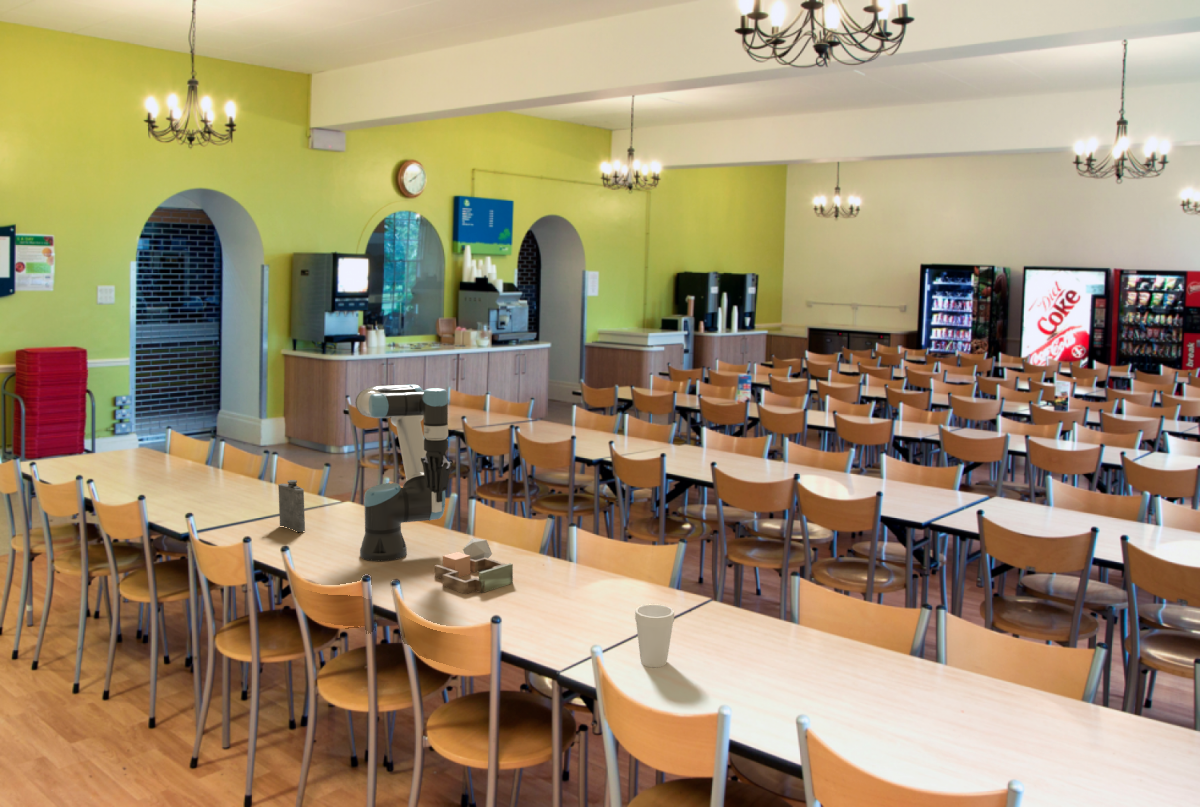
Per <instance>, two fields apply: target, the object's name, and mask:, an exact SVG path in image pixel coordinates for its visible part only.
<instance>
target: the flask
mask: <svg viewBox="0 0 1200 807" xmlns="http://www.w3.org/2000/svg"><path fill="white" fill-rule="evenodd" d="M297 483H298V480H296V479H289V480H287V483H279V484H278V506H279V508H278V509H279V510H278V511H279V513H278V514H279V527H280V526H284V527H287V528H290V529H293V530H295V531H297V532H303V531H305V532H306V521H305V519H306V518H305V494H304V492H305V489H304V488H302V487H301V486H297ZM287 528H286V529H287ZM290 529H289V530H290ZM293 530H292V531H293ZM295 531H294V532H295ZM297 532H296V533H297Z"/></svg>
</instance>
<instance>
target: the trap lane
mask: <svg viewBox="0 0 1200 807" xmlns="http://www.w3.org/2000/svg"><path fill="white" fill-rule="evenodd" d="M513 568H514V565H513V563H511V562H509V563H504V562H501V561H498V560H495V559H492V558H490V557H489V558H481V559H478V560H474V559H471V558H470V572H473V573H478V577H473V578H470V579H466V580H465V579H461V578H460V577H459V572H458V571H455V570H452V569H449V568H446V567H443V565H439V564H436V565H434V578H439V579H442V581H441V582H442V587H444V588H447V589H449V590H453V591H455V592H458V593H461V594H463V595H466V594H469V593H473V592H476V593H477V592H478V593H480V594H483V593H486V592H489V591H492V590H496V589H499V588H501V587H505V586H508V585H511V584H513V582H514V581H513V580H514V578H513V576H514V575H513V574H514V573H513V570H514V569H513Z"/></svg>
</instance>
